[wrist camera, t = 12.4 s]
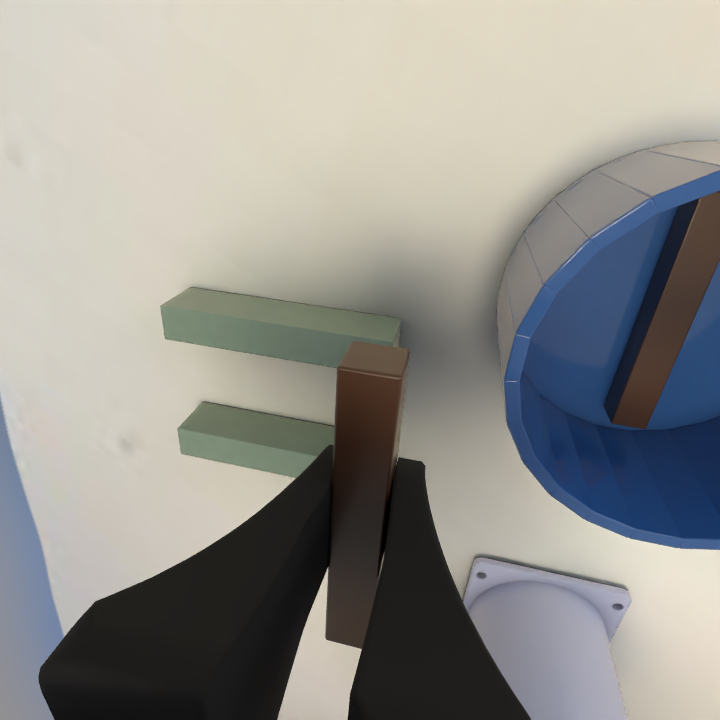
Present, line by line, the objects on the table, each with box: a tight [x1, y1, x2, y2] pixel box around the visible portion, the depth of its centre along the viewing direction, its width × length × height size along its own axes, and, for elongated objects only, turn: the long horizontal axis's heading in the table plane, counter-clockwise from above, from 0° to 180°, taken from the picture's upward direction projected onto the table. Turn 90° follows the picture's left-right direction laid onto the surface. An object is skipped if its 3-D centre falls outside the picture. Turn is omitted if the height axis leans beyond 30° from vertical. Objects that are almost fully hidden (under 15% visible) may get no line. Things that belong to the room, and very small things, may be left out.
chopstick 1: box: [325, 341, 410, 649], centre depth 12 cm, size 9×1×1 cm, turn 176°
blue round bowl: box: [496, 141, 720, 550], centre depth 15 cm, size 12×12×6 cm
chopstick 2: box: [604, 191, 720, 429], centre depth 17 cm, size 9×1×1 cm, turn 176°
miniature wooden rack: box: [160, 287, 402, 478], centre depth 22 cm, size 8×10×2 cm
